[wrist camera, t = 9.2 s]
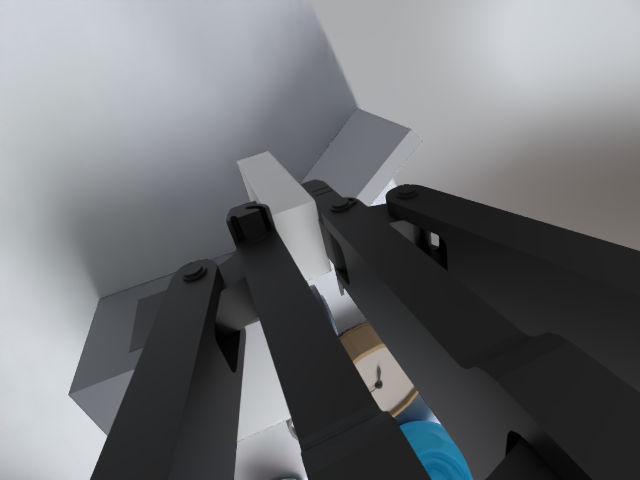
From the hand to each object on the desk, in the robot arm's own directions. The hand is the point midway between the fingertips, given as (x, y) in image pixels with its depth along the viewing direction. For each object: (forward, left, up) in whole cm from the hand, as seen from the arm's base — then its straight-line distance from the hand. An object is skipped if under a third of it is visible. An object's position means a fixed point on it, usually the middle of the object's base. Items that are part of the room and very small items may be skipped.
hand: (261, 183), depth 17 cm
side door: (+4, -4, -7) cm, 9 cm away
